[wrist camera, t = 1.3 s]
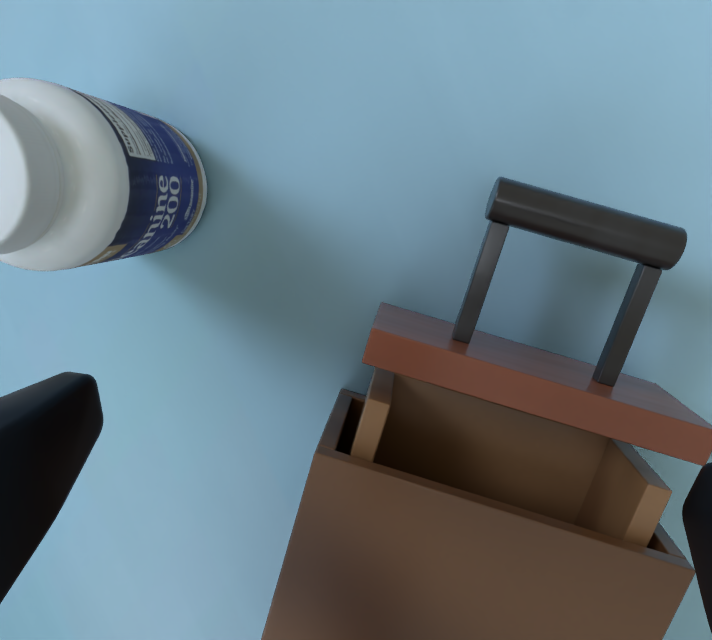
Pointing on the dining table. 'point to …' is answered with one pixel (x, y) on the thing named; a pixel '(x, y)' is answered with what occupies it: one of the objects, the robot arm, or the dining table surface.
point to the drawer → (533, 387)
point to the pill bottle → (90, 179)
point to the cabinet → (455, 562)
